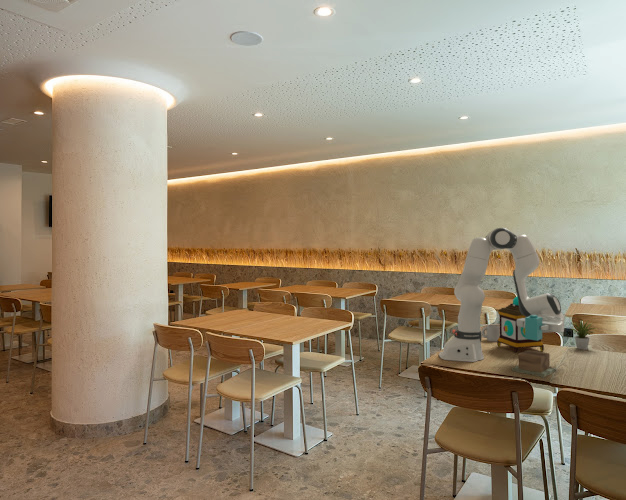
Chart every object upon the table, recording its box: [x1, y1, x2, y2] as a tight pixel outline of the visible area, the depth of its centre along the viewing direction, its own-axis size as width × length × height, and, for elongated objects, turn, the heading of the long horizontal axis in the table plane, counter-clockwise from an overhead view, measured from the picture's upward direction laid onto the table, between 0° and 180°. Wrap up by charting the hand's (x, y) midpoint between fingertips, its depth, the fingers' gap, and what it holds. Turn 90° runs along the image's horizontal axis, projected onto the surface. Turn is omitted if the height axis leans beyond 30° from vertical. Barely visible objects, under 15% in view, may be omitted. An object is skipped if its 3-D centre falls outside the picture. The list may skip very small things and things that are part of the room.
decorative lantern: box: [496, 295, 545, 354], centre depth 250 cm, size 20×20×30 cm
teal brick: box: [525, 315, 543, 341], centre depth 209 cm, size 6×6×11 cm
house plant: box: [571, 319, 599, 350], centre depth 247 cm, size 14×14×16 cm
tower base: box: [511, 349, 557, 378], centre depth 210 cm, size 14×14×8 cm
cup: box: [481, 324, 500, 343], centre depth 272 cm, size 7×10×9 cm
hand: (532, 327), depth 208 cm, fingers closed on teal brick, 5 cm apart
